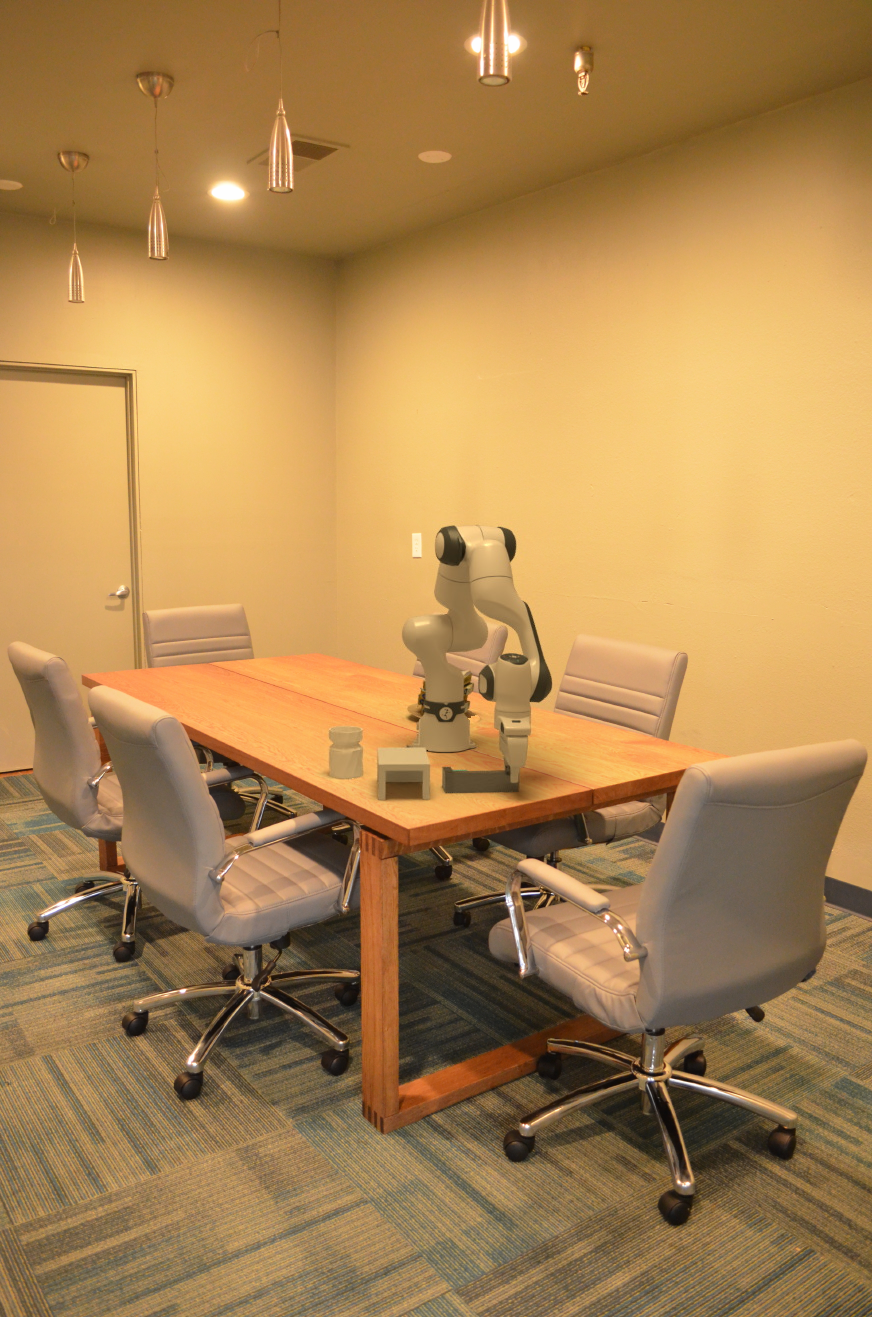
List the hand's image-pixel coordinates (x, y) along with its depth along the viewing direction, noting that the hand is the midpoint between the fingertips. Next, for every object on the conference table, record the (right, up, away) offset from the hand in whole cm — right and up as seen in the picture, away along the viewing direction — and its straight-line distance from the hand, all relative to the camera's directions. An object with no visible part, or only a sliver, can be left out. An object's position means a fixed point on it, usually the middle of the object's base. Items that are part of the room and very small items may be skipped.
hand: (510, 777), depth 241 cm
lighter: (-27, -2, +13) cm, 30 cm away
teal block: (-12, -3, +3) cm, 13 cm away
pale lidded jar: (-41, -1, +14) cm, 44 cm away
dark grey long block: (-7, -3, +1) cm, 8 cm away
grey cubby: (-26, -3, 0) cm, 27 cm away
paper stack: (-16, +8, +92) cm, 94 cm away
